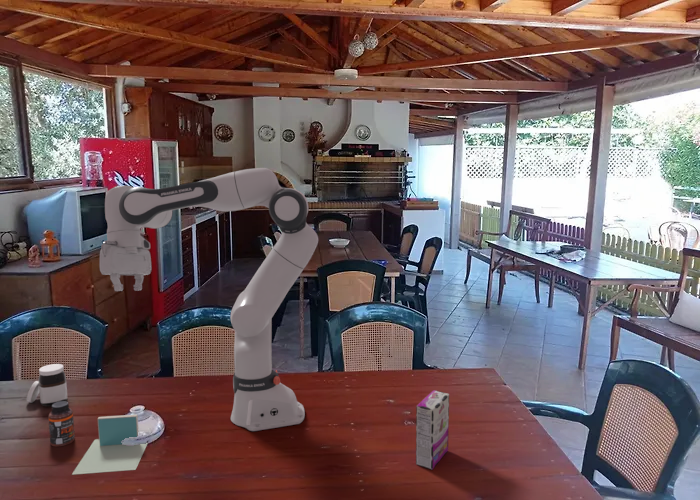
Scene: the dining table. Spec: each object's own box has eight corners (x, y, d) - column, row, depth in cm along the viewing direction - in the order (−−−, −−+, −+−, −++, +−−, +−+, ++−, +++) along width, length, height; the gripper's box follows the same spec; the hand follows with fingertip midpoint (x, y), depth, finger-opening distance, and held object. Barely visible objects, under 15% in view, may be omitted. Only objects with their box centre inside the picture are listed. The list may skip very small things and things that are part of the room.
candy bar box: (431, 445, 142) (433, 389, 139) (448, 450, 139) (450, 393, 137) (414, 464, 132) (415, 404, 130) (432, 470, 130) (434, 409, 127)
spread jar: (69, 404, 166) (66, 370, 164) (28, 413, 160) (24, 377, 158) (65, 391, 176) (62, 358, 174) (26, 399, 169) (23, 365, 168)
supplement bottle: (64, 449, 139) (61, 409, 137) (45, 447, 140) (41, 407, 139) (80, 438, 145) (77, 400, 143) (61, 436, 146) (58, 398, 144)
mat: (151, 437, 146) (151, 435, 146) (135, 471, 129) (135, 469, 129) (94, 441, 143) (94, 439, 143) (71, 476, 127) (71, 474, 127)
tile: (139, 441, 142) (137, 414, 141) (138, 443, 141) (136, 416, 140) (100, 444, 141) (98, 416, 140) (99, 446, 140) (97, 418, 138)
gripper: (112, 238, 137) (117, 289, 136) (153, 243, 157) (157, 288, 156) (91, 241, 138) (95, 292, 137) (134, 246, 158) (138, 291, 157)
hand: (128, 290), depth 147 cm, fingers open, 8 cm apart
